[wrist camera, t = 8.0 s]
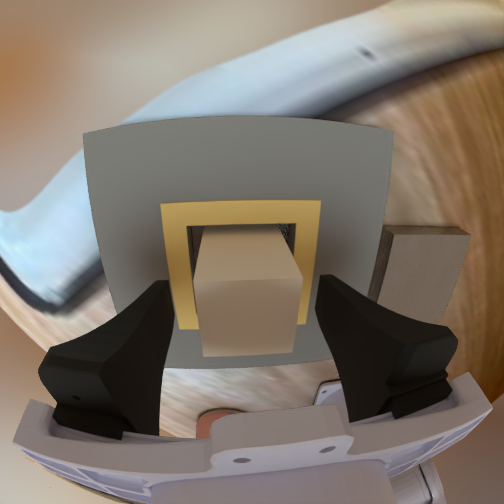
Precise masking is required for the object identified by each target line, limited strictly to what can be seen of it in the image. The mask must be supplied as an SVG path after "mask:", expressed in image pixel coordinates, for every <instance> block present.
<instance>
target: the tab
mask: <svg viewBox="0 0 504 504" xmlns="http://www.w3.org/2000/svg"><path fill="white" fill-rule="evenodd" d="M470 238H471V235H470V234H469V233H467V232H465V231H464V230H462V229H461V228H456V227H424V226H382V232H381V237H380V242H379V247H378V252H377V257H376V261H375V266H374V270H373V274H372V278H371V282H370V286H369V290H368V294H367V298H369V299H371V300H372V301H374V302H376V303H378V304H379V305H381V306H383V307H385V308H387V309H389V310H392V311H394V312H396V313H398V314H401V315H404V316H406V317H409V318H412V319H415V320H419V321H422V322H426V323H432V322H437V321H440V320H441V319H442V316H443V314H444V312H445V309H446V307H447V305H448V302H449V300H450V297H451V295H452V292H453V290H454V287H455V285H456V282H457V279H458V276H459V273H460V271H461V268H462V265H463V261H464V258H465V255H466V252H467V248H468V245H469V241H470Z"/></svg>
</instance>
